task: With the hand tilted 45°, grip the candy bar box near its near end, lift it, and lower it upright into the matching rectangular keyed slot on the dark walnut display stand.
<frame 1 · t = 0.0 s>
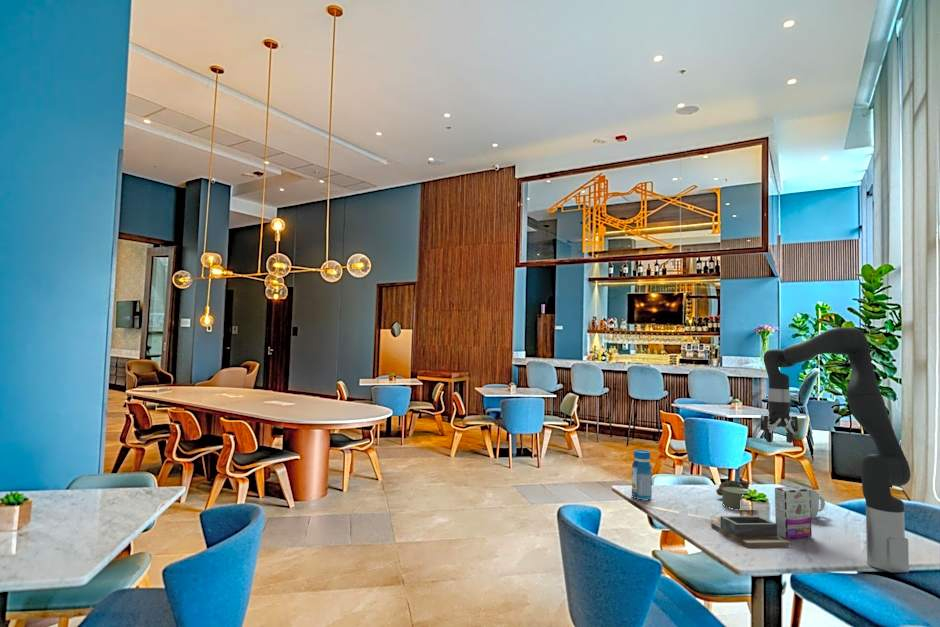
hand: (779, 442, 207), 29 cm above the table, tool pointing down, fingers open, 8 cm apart
display stand: (748, 536, 184), on the table
decorative turtle: (733, 499, 234), on the table
mug: (809, 516, 211), on the table
dark grey bowl: (737, 507, 221), on the table
candy bar box: (793, 536, 186), on the table
beverage bottle: (641, 498, 229), on the table
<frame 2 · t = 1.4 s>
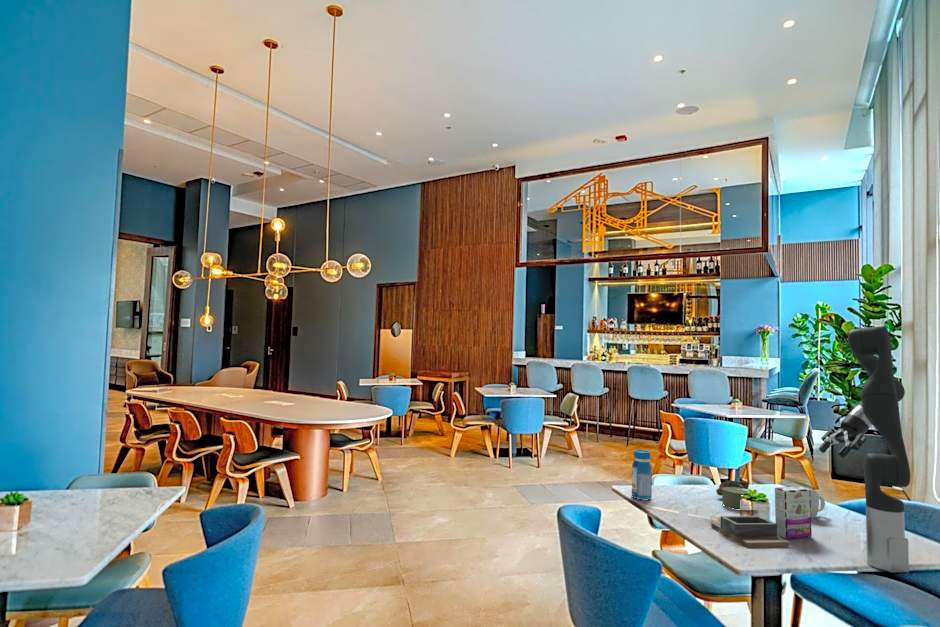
hand: (830, 453, 190), 29 cm above the table, tool tilted 45°, fingers open, 8 cm apart
nothing on the table moved.
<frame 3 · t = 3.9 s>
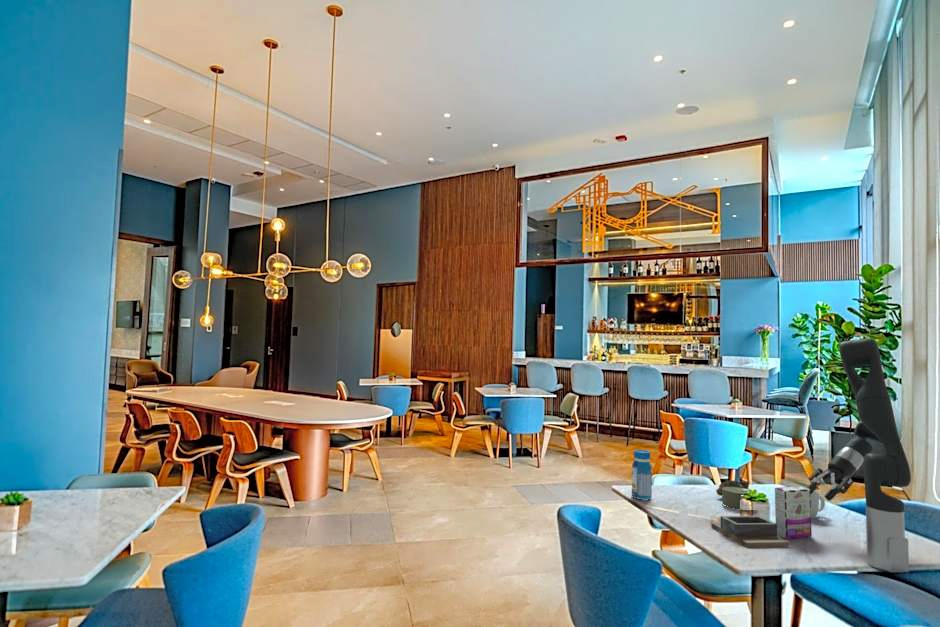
hand: (817, 495, 188), 14 cm above the table, tool tilted 45°, fingers open, 8 cm apart
nothing on the table moved.
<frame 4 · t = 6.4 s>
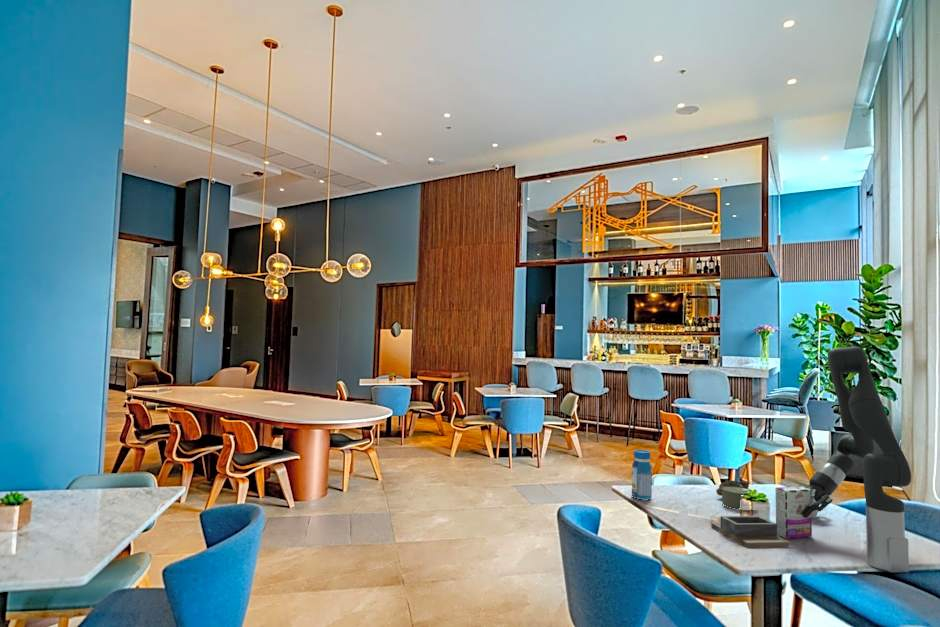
hand: (797, 513, 187), 8 cm above the table, tool tilted 45°, fingers closed on candy bar box, 5 cm apart
candy bar box: (793, 536, 186), on the table, touching gripper
everything else where it was.
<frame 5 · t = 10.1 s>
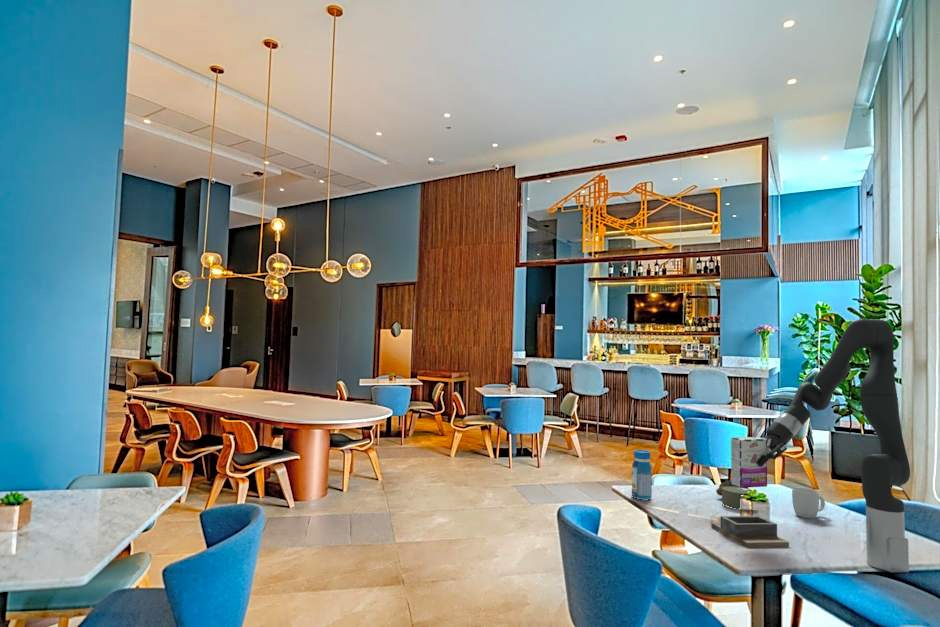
hand: (753, 463, 186), 25 cm above the table, tool tilted 45°, fingers closed on candy bar box, 5 cm apart
candy bar box: (748, 486, 185), point 17 cm above the table, touching gripper
when the fingers open (10 cm above the table, at t = 14.0 s): candy bar box drops 1 cm, resting on display stand.
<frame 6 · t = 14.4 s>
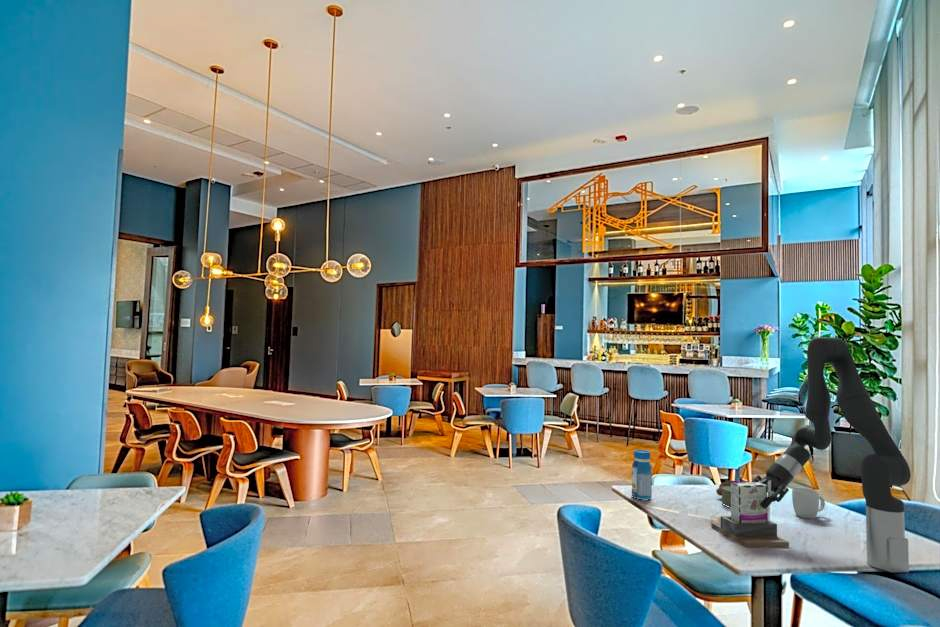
hand: (753, 503, 185), 11 cm above the table, tool tilted 45°, fingers open, 8 cm apart
candy bar box: (749, 532, 184), point 1 cm above the table, touching display stand
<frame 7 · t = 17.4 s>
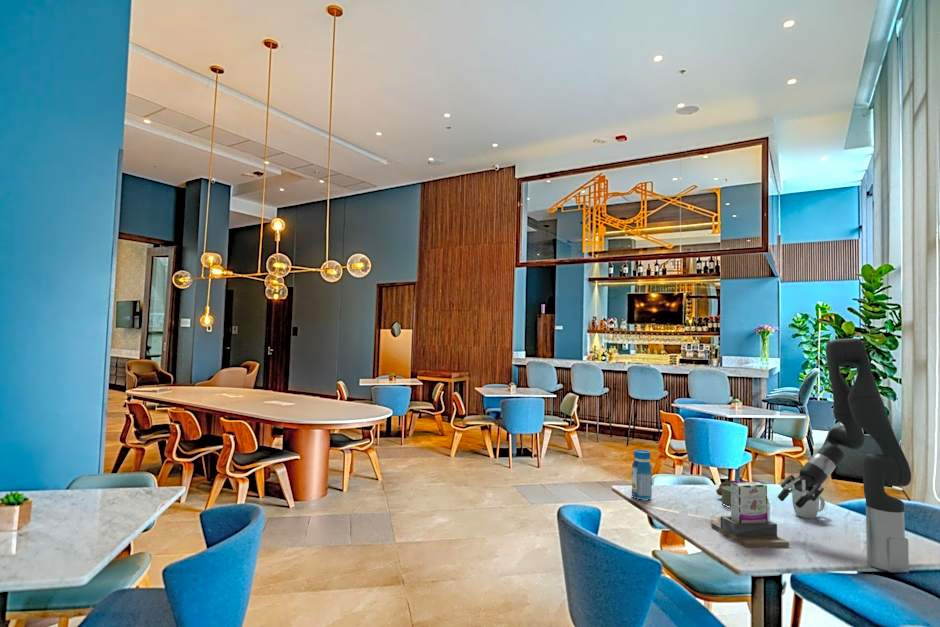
hand: (788, 502, 187), 11 cm above the table, tool tilted 45°, fingers open, 8 cm apart
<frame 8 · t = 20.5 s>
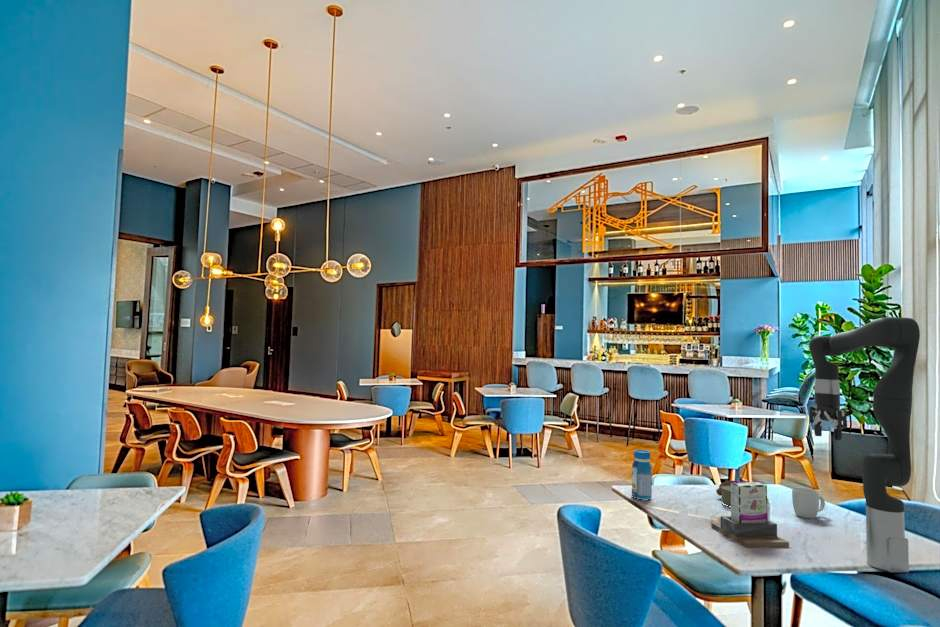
hand: (827, 438, 189), 34 cm above the table, tool pointing down, fingers open, 8 cm apart
at the end: candy bar box 0.3 cm off-centre on the display stand, point 1.3 cm above the display stand's base; candy bar box tilted 0°; the gripper is holding nothing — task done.
